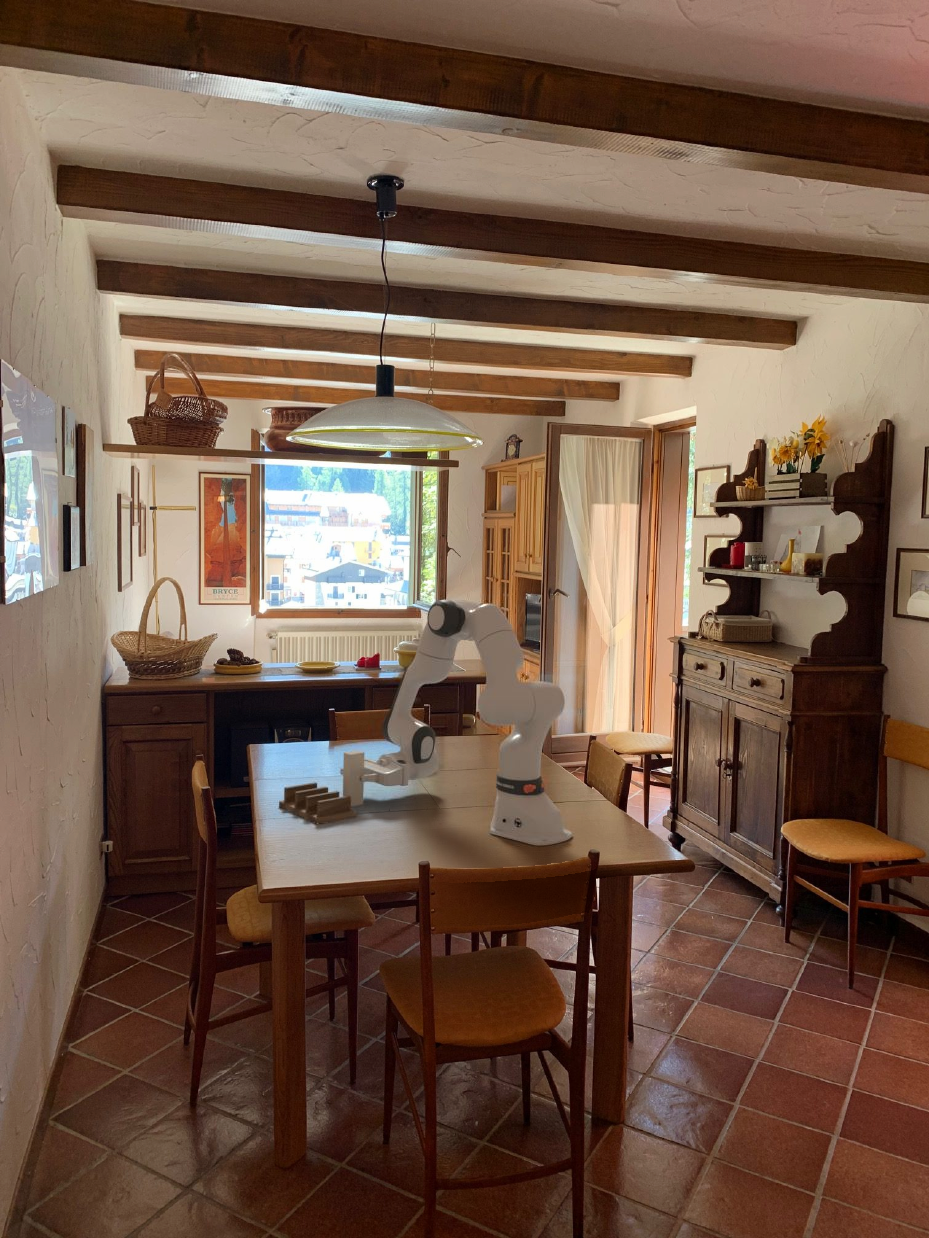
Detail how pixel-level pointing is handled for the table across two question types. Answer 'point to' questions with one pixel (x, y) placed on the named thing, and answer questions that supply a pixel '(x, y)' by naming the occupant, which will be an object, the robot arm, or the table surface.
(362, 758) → the clay strip
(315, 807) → the drying rack
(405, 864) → the table surface
